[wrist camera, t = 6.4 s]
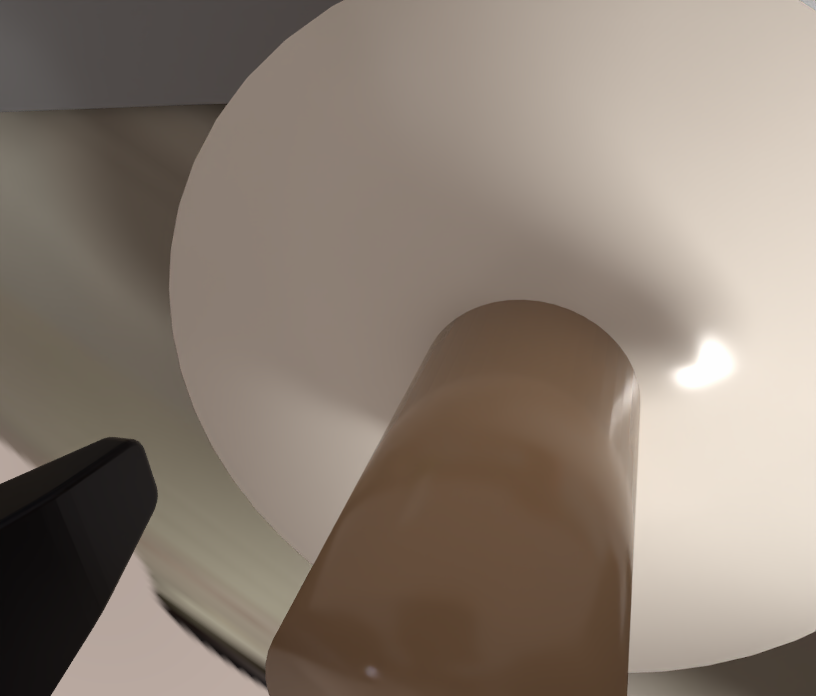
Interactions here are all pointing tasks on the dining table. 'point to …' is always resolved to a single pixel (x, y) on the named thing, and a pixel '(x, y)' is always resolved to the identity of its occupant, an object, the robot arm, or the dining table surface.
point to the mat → (138, 50)
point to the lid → (516, 337)
